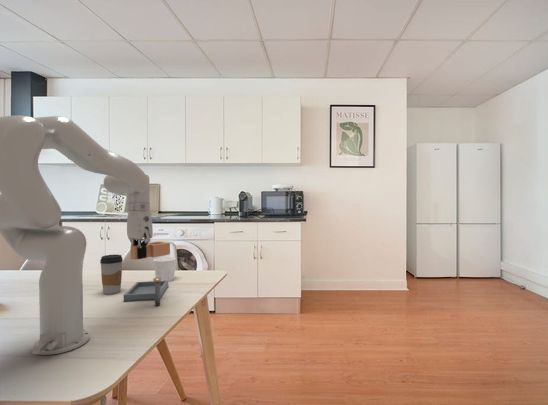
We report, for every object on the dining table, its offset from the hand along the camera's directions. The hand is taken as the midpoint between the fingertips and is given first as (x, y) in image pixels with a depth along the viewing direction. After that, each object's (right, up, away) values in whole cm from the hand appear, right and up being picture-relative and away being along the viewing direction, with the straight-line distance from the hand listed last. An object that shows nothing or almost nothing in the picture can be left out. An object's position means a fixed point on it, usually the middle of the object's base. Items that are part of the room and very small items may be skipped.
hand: (139, 257), depth 111 cm
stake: (+7, -17, -1) cm, 19 cm away
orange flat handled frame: (+2, 0, +3) cm, 4 cm away
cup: (-3, -17, +33) cm, 37 cm away
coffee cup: (-18, -17, +14) cm, 29 cm away
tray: (-2, -17, +13) cm, 21 cm away
